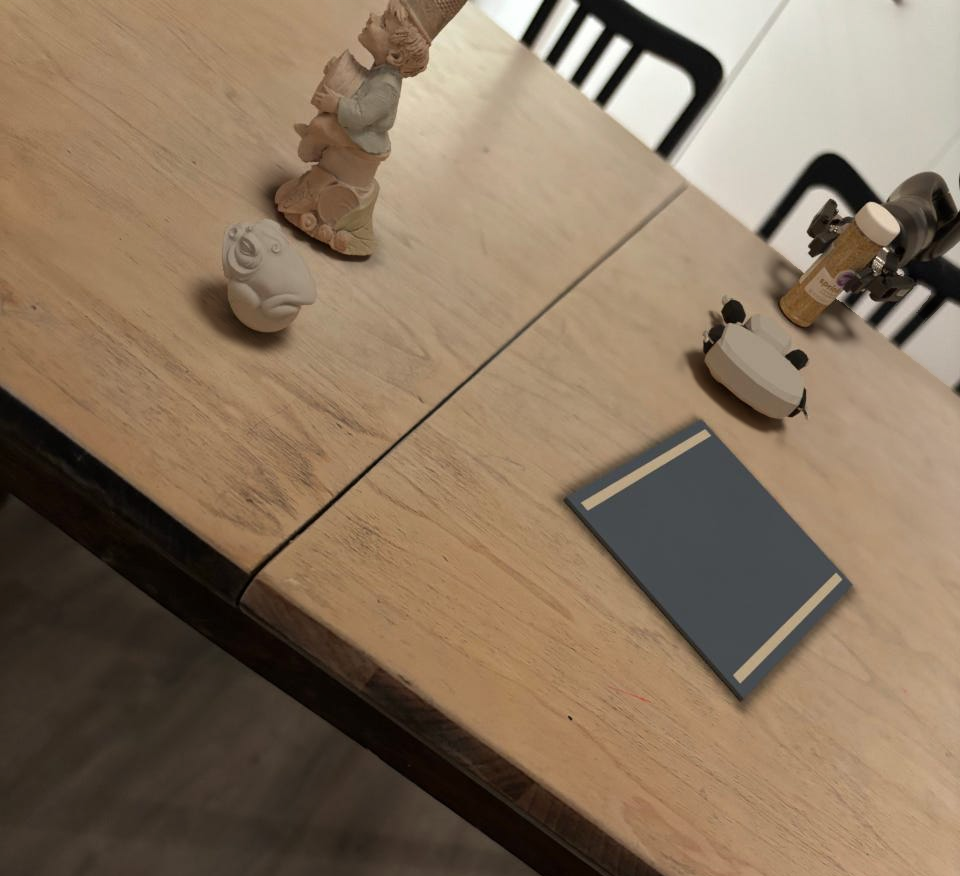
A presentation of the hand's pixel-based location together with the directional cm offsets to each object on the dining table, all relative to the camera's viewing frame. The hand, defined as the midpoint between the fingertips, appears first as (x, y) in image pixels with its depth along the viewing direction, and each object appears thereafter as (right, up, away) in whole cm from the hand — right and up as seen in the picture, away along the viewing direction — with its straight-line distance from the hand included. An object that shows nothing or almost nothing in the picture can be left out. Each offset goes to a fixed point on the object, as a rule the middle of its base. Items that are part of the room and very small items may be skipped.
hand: (833, 265), depth 103 cm
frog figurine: (-53, -17, -34) cm, 65 cm away
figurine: (-50, -6, -24) cm, 56 cm away
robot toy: (-11, -13, -5) cm, 18 cm away
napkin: (-18, -32, -22) cm, 42 cm away
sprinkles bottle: (-2, -3, +7) cm, 8 cm away
